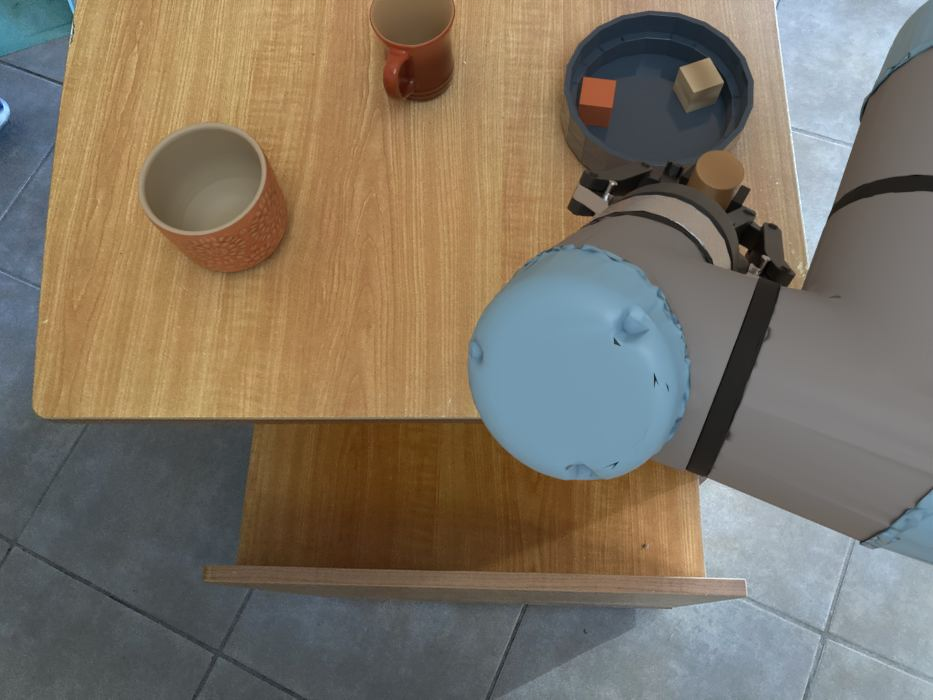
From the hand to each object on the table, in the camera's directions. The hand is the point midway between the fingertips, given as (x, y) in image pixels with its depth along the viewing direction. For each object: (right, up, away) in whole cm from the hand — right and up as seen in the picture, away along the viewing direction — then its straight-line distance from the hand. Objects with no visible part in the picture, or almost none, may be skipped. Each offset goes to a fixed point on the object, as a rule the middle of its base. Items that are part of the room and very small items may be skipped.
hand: (714, 192), depth 57 cm
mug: (-24, +18, +29) cm, 42 cm away
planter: (-43, +1, +24) cm, 49 cm away
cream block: (+6, +16, +27) cm, 32 cm away
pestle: (-3, -7, +4) cm, 8 cm away
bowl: (+1, +14, +27) cm, 30 cm away
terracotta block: (-5, +14, +26) cm, 30 cm away
